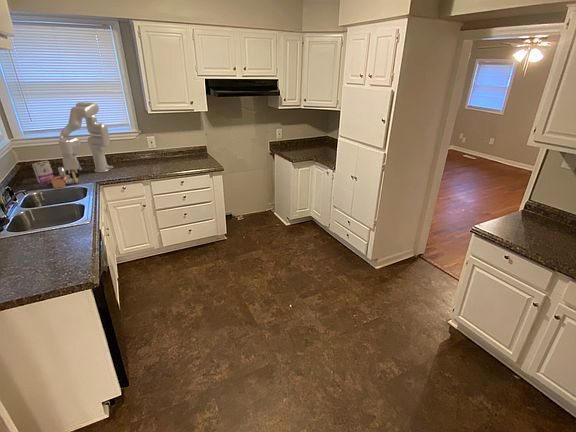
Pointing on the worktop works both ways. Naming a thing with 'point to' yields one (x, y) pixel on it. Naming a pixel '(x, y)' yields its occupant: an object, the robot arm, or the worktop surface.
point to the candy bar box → (43, 171)
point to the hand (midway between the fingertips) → (75, 177)
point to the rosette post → (61, 179)
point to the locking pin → (74, 177)
